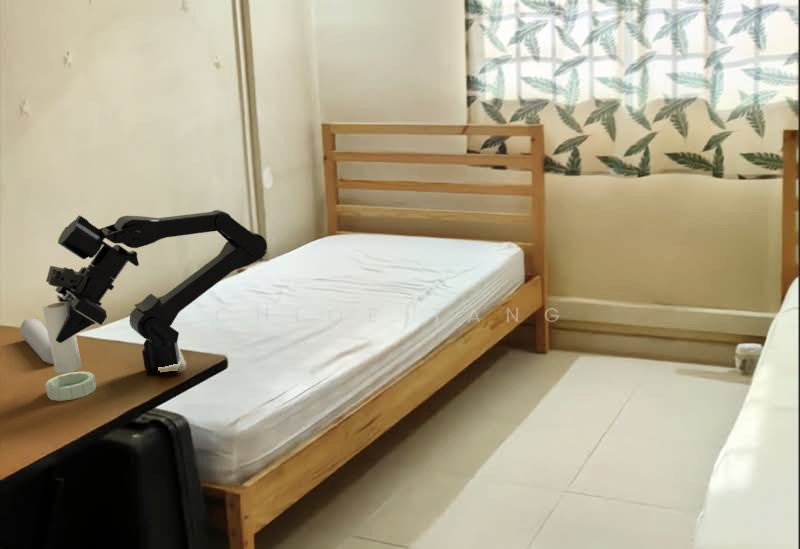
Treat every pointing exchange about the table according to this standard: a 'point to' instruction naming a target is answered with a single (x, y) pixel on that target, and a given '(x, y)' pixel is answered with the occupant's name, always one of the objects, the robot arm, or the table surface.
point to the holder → (70, 386)
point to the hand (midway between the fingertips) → (55, 338)
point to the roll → (66, 351)
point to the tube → (37, 338)
